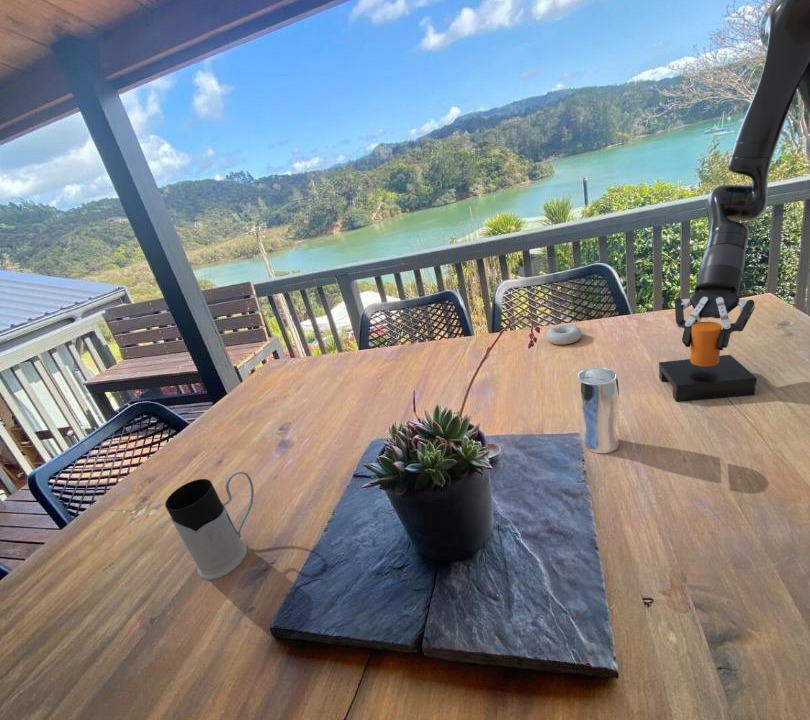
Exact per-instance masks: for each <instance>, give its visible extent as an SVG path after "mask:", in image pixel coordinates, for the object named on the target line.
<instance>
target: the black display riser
mask: <svg viewBox="0 0 810 720" xmlns="http://www.w3.org/2000/svg"><path fill="white" fill-rule="evenodd" d="M658 370H659V371H658V378H659V380H660V381H661V382H669V384H670V385H671V386H672V398H673V400H674V401H675V402H676V403H679V402H689V401H699V400H700V401H701V400H713V399H724V398H736V397H745V396H746V397H748V396H755V393H756V385H757V379H758V378H757V377H756V375H754V374H753V373H752V372H751V371H750V370H748V368H746V367H745V366H744V365H743V364H741V362H740V361H738V360H737V359H736V358H735V357H733V356H732V355H731V354H723V355H720V357H719V363H718V364H717V365H715V366H710V367H702V366H697V365H694V364H692V363H691V362H690V358H686V359H677V360H669V361H660V362H658Z"/></svg>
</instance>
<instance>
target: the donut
mask: <svg viewBox="0 0 810 720" xmlns="http://www.w3.org/2000/svg"><path fill="white" fill-rule="evenodd" d="M581 337H582V329H580V327H578V326H576V325H573V324H558V325H556V326H552V327H550V328H549V329H548V330H547V331H546V333H545V338H546V340H547V341H548V343H550V344H553V345H558V346H562V345H563V346H564V345H571V344H573V343H576V342H578V341H579V340H580V339H581Z"/></svg>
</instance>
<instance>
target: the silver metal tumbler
mask: <svg viewBox="0 0 810 720" xmlns="http://www.w3.org/2000/svg"><path fill="white" fill-rule="evenodd" d="M618 376H619V375H618V373H617V372H616V371H615V370H613V369H612V368H608V367H603V366H600V367H599V366H598V367H597V366H596V367H589V368H586V369H582V370H581V371H579V372H578V374H577V400H578V406H579V410H580V413H581V417H582V420H583V424H584V438H583V445H584V447H585V448H586V449H587V450H588V451H590V452H591V453H595V454H600V455H601V454H603V455H604V454H611V453H613V452H615V451H616V450H617V449H619V445H620V443H619V439H618V434H617V421H618V416H619V410H620V403H621V401H620V399H621V395H620V385H619V377H618Z"/></svg>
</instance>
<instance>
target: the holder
mask: <svg viewBox="0 0 810 720" xmlns="http://www.w3.org/2000/svg"><path fill="white" fill-rule="evenodd" d="M241 474H244V476H245V477H246V479H248V483H249V488H250V497H249V503H248V504H247V507H246V510H245V512H244V515H243V516H242V519H241V521H240V523H239V525H238V527H237V528H236V526H235V524H234V523H233V520H232V518H231V516H230V515H229V512H228V510H227V509H226V505H228V504H229V503H230V502H231V501H232V494H231V493H232V492H231V490H230V482H231V480H232V479H233V478H234V477H235V476H237V475H241ZM225 491H226V493H227V496H228V497H227V499H226V500H225V501H223V502H222V501H221V499H220V497H219V495H218V492H217V491H216V489H215V487H214V485H213V483H212V481H211V480H210V479H207V478H199V479H194V480H191V481H189V482H187V483H185V484H184V485H181V486H180V487H178V488H177V489H175V490H174V491H173V492H171V494H170V495H169V496H168V497H167V498H166V500H165V504H164V507H165V509H166V511H167V512H168V514H169V516H170V520H171V522H172V524H173V525H174V527H175V529H176V531H177V533H178V534H179V536H180V538H181V539H182V542H183V543H184V545H185V547H186V549H187V550H188V552H189V553H190V555H191V557H192V559H193V561H194V562H195V564H196V566H197V574H198V576H199V577H200V578H201V579H203V580H207V581H211V580H217V579H220V578H222V577H225V576H226V575H228V574H230V573H231V572H232V571H234V570H235V569H236V568H238V566H240V564H241V563H242V562H243V561H244V559H245V558H246V555H247V553H248V545H247V543H246V541H244V539H242V534H241V531H242V529H243V526H244V524H245V522H246V520H247V518H248V516H249V513H250V510H251V508H252V507H253V503H254V497H255V496H254V495H255V494H254V493H255V490H254V483H253V481H252V478H251V476H250V475H249V474H248V473H247V472H245V471H243V470H238V471H235V472H233V473H231V474H230V475H229V476H228V477H227V479H226V482H225Z"/></svg>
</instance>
